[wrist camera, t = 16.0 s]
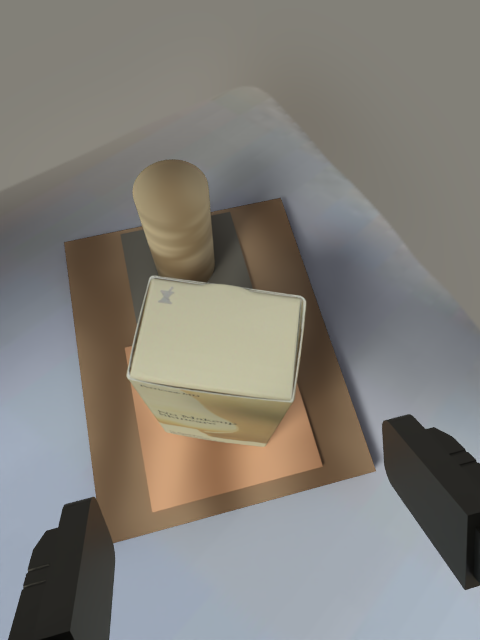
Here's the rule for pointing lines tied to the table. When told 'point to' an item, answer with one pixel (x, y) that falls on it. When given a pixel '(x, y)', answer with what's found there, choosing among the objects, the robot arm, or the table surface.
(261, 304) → the skincare box
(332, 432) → the board
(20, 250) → the table surface
